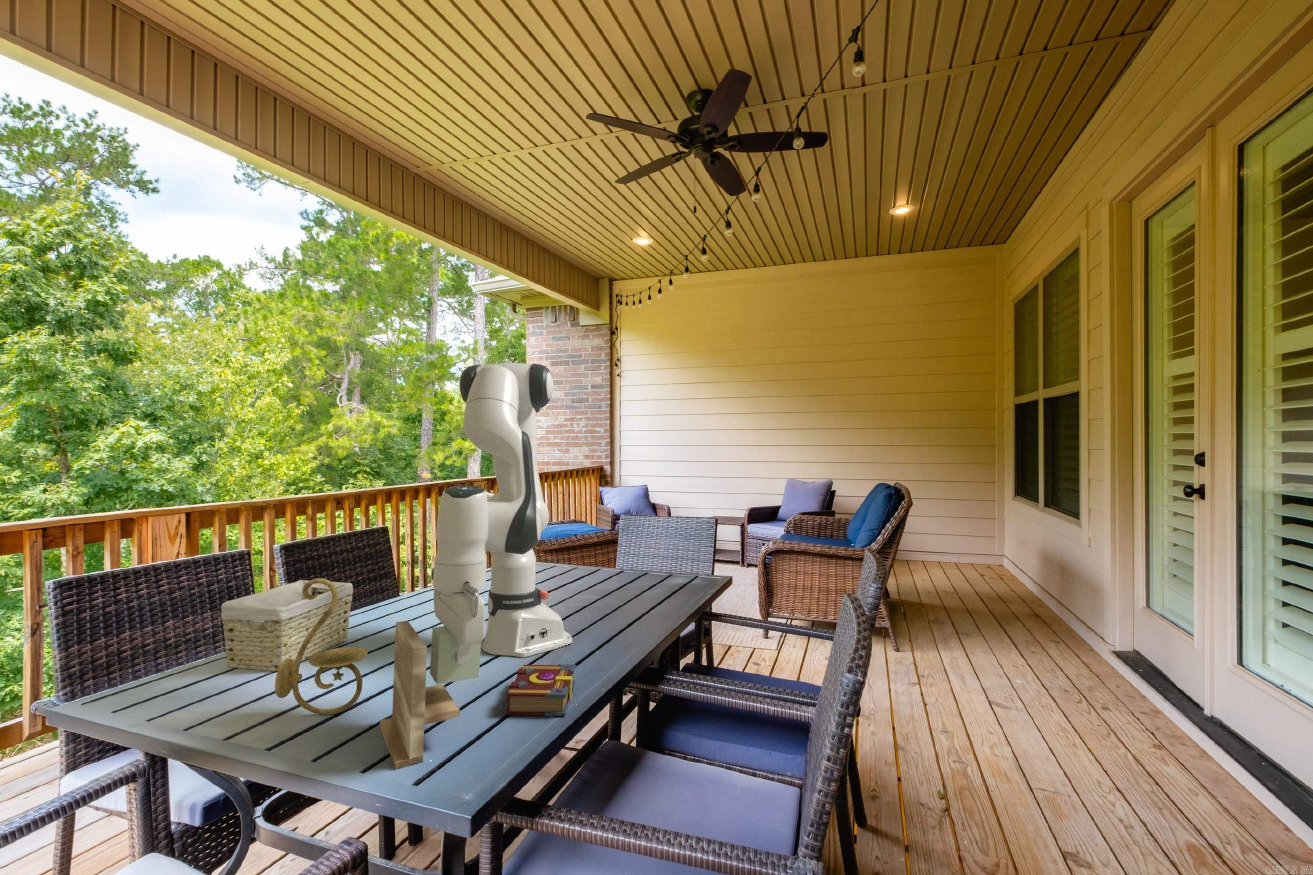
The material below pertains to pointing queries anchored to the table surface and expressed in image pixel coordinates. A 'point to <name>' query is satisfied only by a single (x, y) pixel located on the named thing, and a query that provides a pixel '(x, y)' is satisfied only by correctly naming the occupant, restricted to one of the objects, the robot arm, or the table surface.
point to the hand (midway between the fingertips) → (456, 655)
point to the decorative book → (541, 690)
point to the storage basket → (283, 624)
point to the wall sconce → (319, 661)
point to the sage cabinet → (451, 658)
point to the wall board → (413, 700)
